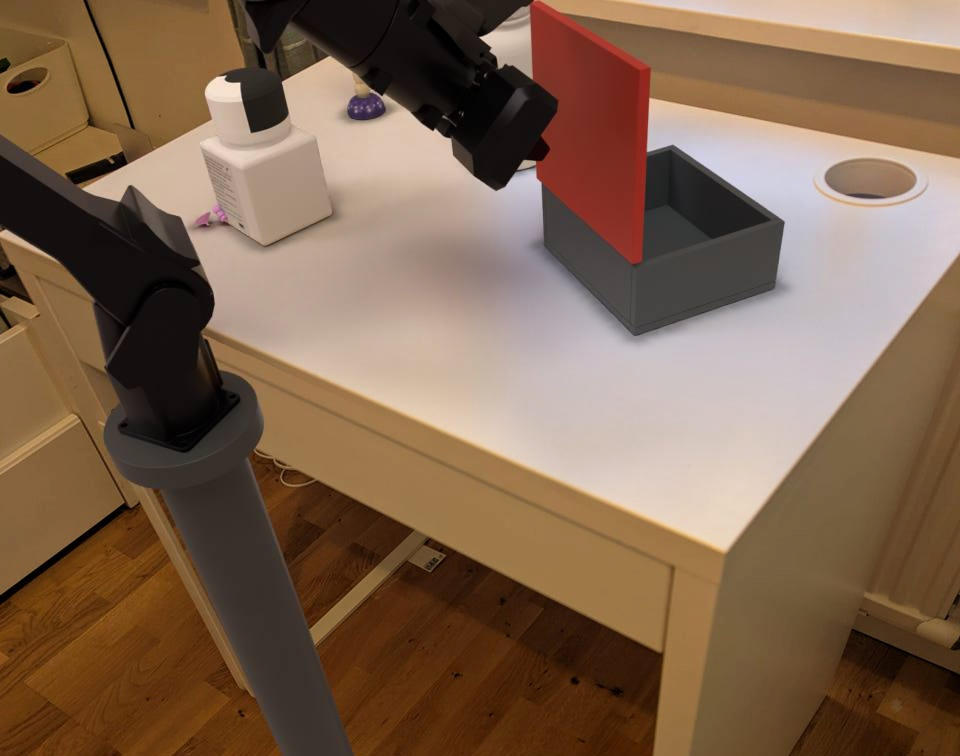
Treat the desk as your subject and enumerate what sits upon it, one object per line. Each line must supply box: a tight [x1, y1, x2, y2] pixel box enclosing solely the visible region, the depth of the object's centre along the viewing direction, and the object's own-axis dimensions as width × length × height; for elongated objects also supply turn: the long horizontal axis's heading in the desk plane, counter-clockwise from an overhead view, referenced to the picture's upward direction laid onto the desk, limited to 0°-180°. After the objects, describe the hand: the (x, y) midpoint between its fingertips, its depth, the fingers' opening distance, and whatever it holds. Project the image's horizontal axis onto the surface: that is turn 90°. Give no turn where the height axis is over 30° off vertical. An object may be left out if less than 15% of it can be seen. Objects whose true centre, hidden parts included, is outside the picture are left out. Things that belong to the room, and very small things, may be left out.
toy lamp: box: [346, 71, 386, 121], centre depth 98 cm, size 5×5×17 cm
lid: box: [530, 0, 652, 264], centre depth 66 cm, size 13×15×1 cm
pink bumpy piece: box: [194, 204, 227, 227], centre depth 87 cm, size 3×2×2 cm
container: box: [199, 66, 333, 247], centre depth 83 cm, size 8×8×13 cm
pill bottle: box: [479, 5, 536, 171], centre depth 88 cm, size 8×8×15 cm
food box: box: [540, 144, 786, 336], centre depth 74 cm, size 12×15×6 cm
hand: (544, 153), depth 66 cm, fingers closed
